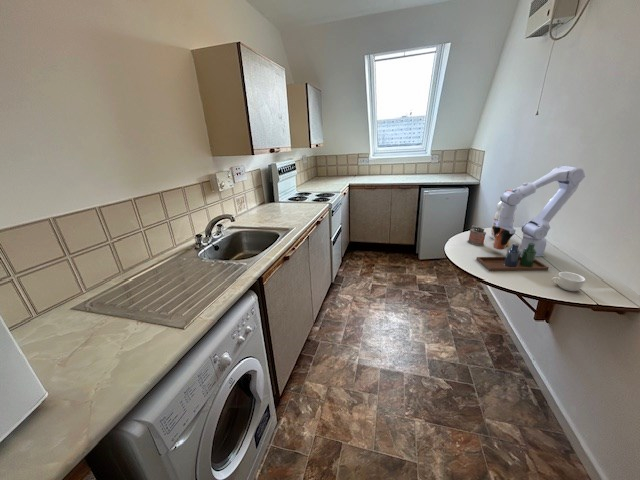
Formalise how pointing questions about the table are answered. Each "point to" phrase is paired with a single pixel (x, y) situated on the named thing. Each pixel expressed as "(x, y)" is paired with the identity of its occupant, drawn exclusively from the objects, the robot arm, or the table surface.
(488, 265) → the tray
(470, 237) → the lighter
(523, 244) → the robot arm
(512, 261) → the slate-blue bottle
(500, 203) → the fruit juice
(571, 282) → the teacup
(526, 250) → the green bottle
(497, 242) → the terracotta bottle
